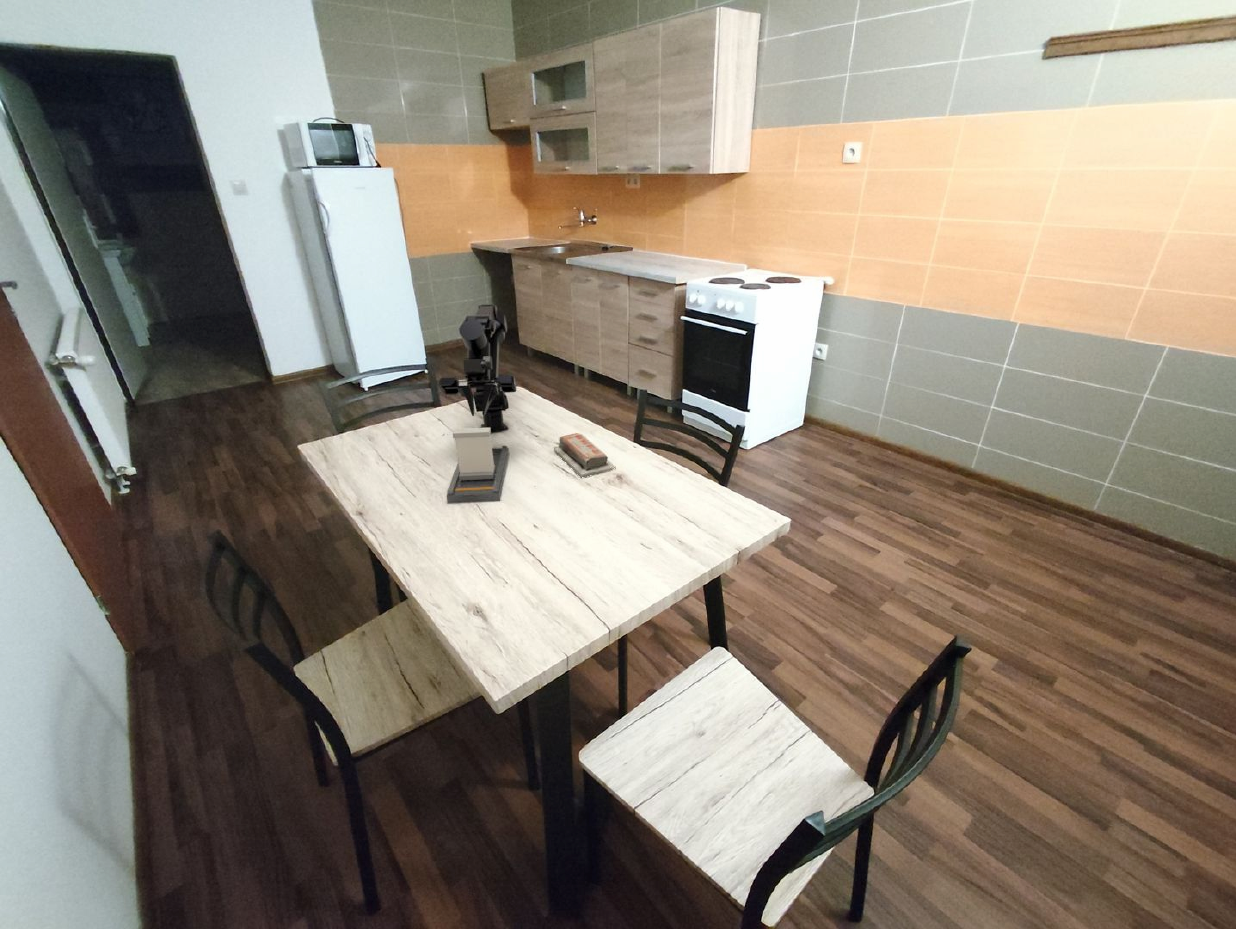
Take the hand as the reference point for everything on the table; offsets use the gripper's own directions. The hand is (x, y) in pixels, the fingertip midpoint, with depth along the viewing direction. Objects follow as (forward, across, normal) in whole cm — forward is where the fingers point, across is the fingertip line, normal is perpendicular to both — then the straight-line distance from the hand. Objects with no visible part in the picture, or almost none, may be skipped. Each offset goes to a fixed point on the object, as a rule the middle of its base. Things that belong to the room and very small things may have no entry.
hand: (478, 415), depth 143 cm
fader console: (+15, 0, +4) cm, 16 cm away
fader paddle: (+15, 0, 0) cm, 15 cm away
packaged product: (+11, +26, +10) cm, 30 cm away
